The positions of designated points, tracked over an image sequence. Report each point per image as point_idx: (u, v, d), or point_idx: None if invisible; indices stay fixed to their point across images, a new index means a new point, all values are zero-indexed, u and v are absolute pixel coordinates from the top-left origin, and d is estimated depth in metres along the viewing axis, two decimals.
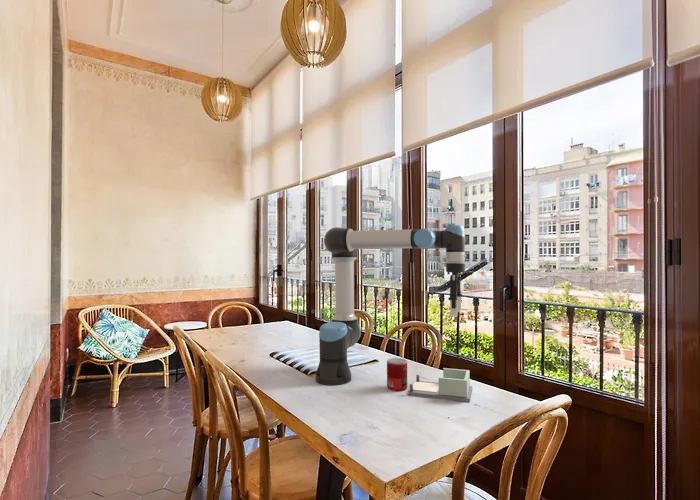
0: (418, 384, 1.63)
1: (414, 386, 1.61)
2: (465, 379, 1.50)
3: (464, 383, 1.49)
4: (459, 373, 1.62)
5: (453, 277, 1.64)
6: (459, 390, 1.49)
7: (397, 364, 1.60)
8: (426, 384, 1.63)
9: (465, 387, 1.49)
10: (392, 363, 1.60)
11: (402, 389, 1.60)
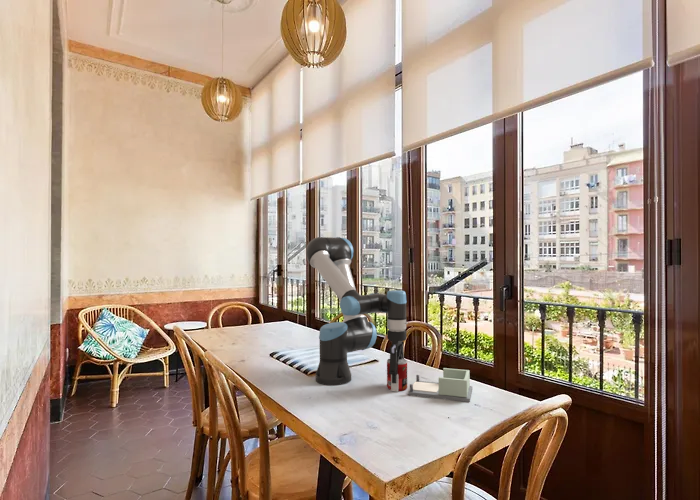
0: (418, 384, 1.63)
1: (414, 386, 1.61)
2: (465, 379, 1.50)
3: (464, 383, 1.49)
4: (459, 373, 1.62)
5: (392, 350, 1.57)
6: (459, 390, 1.49)
7: None
8: (426, 384, 1.63)
9: (465, 387, 1.49)
10: None
11: (402, 389, 1.60)
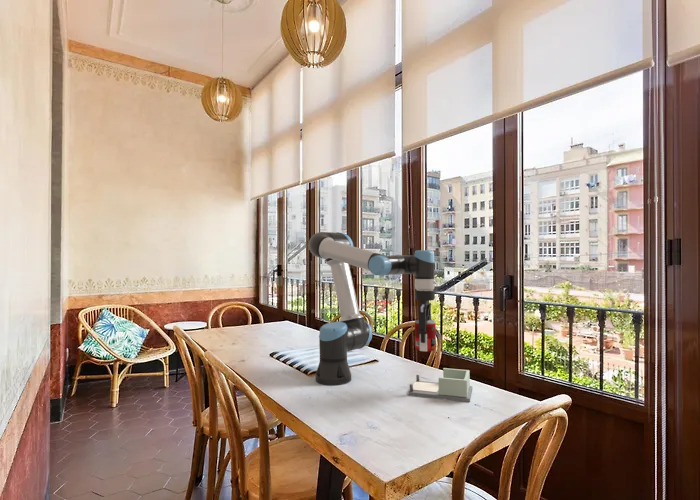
0: (418, 384, 1.63)
1: (414, 386, 1.61)
2: (465, 379, 1.50)
3: (464, 383, 1.49)
4: (459, 373, 1.62)
5: (421, 309, 1.55)
6: (459, 390, 1.49)
7: None
8: (426, 384, 1.63)
9: (465, 387, 1.49)
10: None
11: (431, 349, 1.57)
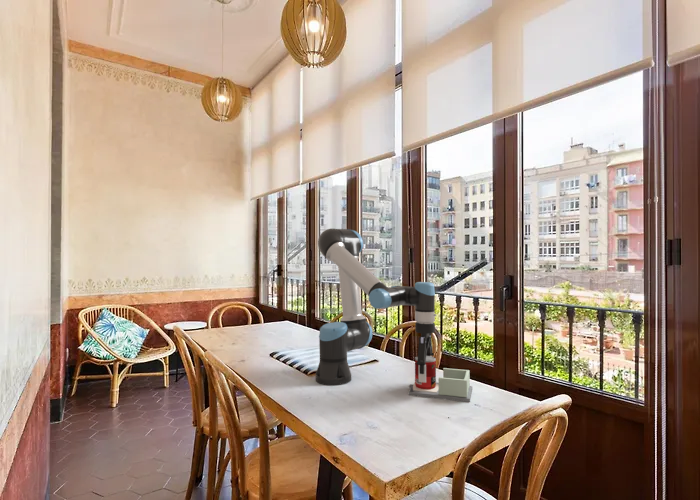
0: None
1: (414, 386, 1.61)
2: (465, 379, 1.50)
3: (464, 383, 1.49)
4: (459, 373, 1.62)
5: (422, 340, 1.54)
6: (459, 390, 1.49)
7: (426, 362, 1.57)
8: None
9: (465, 387, 1.49)
10: None
11: (431, 387, 1.57)
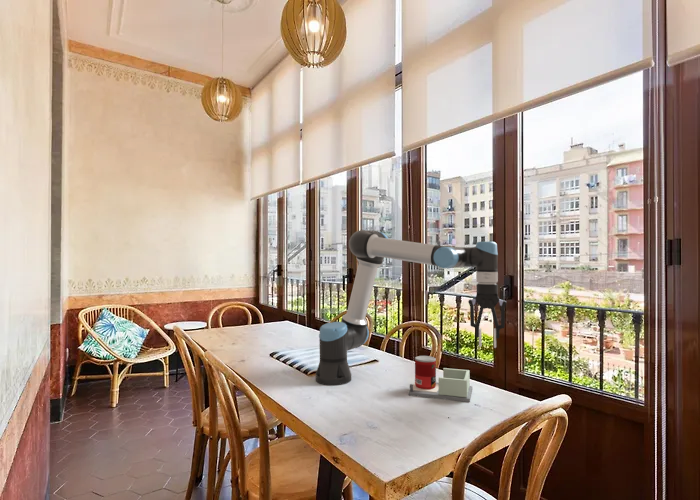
0: None
1: (414, 386, 1.61)
2: (465, 379, 1.50)
3: (464, 383, 1.49)
4: (459, 373, 1.62)
5: None
6: (459, 390, 1.49)
7: (426, 362, 1.57)
8: None
9: (465, 387, 1.49)
10: (421, 361, 1.58)
11: (431, 387, 1.57)
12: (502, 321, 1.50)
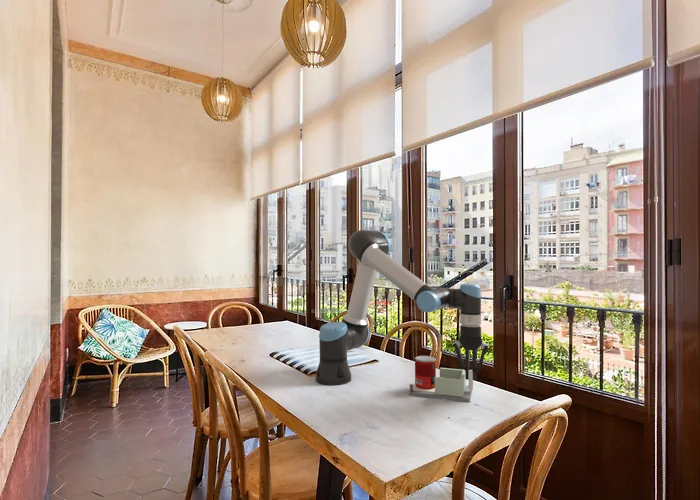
0: None
1: (414, 386, 1.61)
2: (461, 379, 1.50)
3: (460, 383, 1.49)
4: (455, 373, 1.62)
5: None
6: (455, 390, 1.50)
7: (426, 362, 1.57)
8: None
9: (461, 387, 1.49)
10: (421, 361, 1.58)
11: (431, 387, 1.57)
12: (480, 364, 1.53)
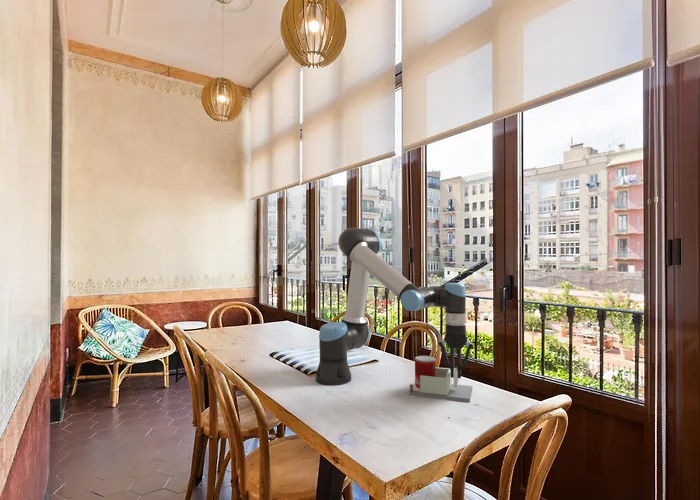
0: None
1: (414, 386, 1.61)
2: (446, 377, 1.52)
3: (445, 381, 1.51)
4: (442, 372, 1.64)
5: None
6: (440, 388, 1.52)
7: (426, 362, 1.57)
8: None
9: (446, 385, 1.51)
10: (421, 361, 1.58)
11: None
12: (464, 362, 1.54)
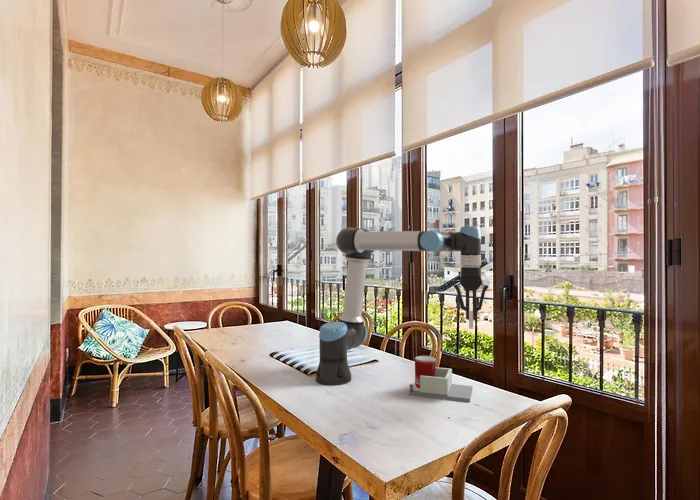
0: None
1: (414, 386, 1.61)
2: (446, 377, 1.52)
3: (445, 381, 1.51)
4: (442, 372, 1.64)
5: None
6: (440, 388, 1.52)
7: (426, 362, 1.57)
8: None
9: (446, 385, 1.51)
10: (421, 361, 1.58)
11: None
12: (480, 303, 1.56)
